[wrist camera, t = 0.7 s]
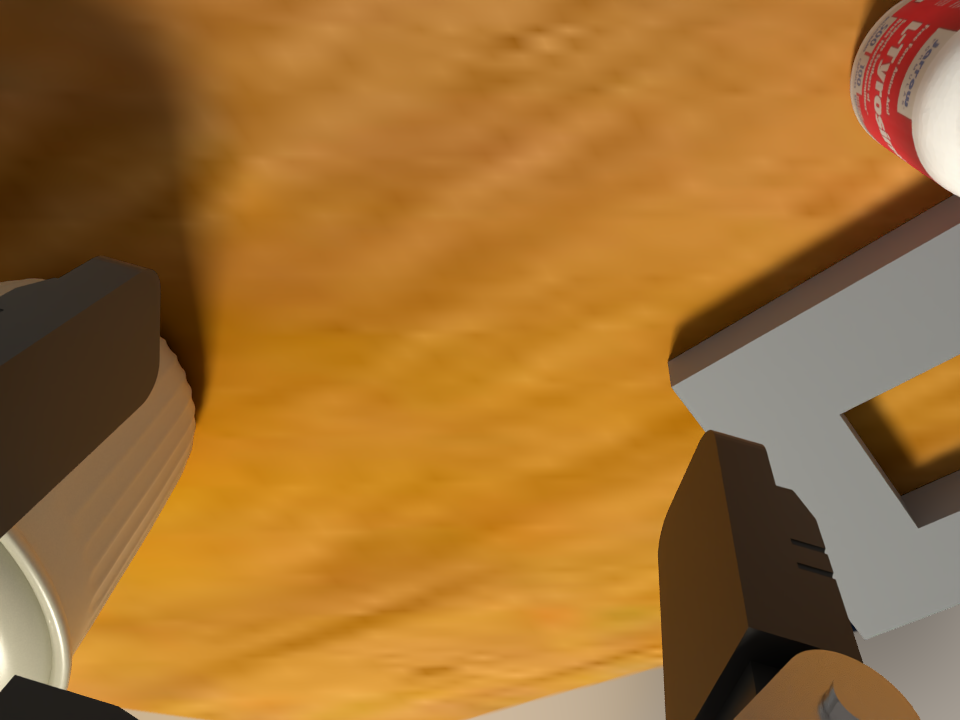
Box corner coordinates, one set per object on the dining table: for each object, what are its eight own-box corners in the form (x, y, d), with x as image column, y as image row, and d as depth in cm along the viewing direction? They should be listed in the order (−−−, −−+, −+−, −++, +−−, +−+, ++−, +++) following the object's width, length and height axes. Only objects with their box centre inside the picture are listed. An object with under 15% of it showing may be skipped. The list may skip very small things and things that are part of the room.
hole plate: (1068, 128, 30) (1104, 141, 28) (1232, 452, 35) (1274, 485, 33) (667, 362, 37) (671, 387, 35) (851, 604, 42) (865, 640, 40)
